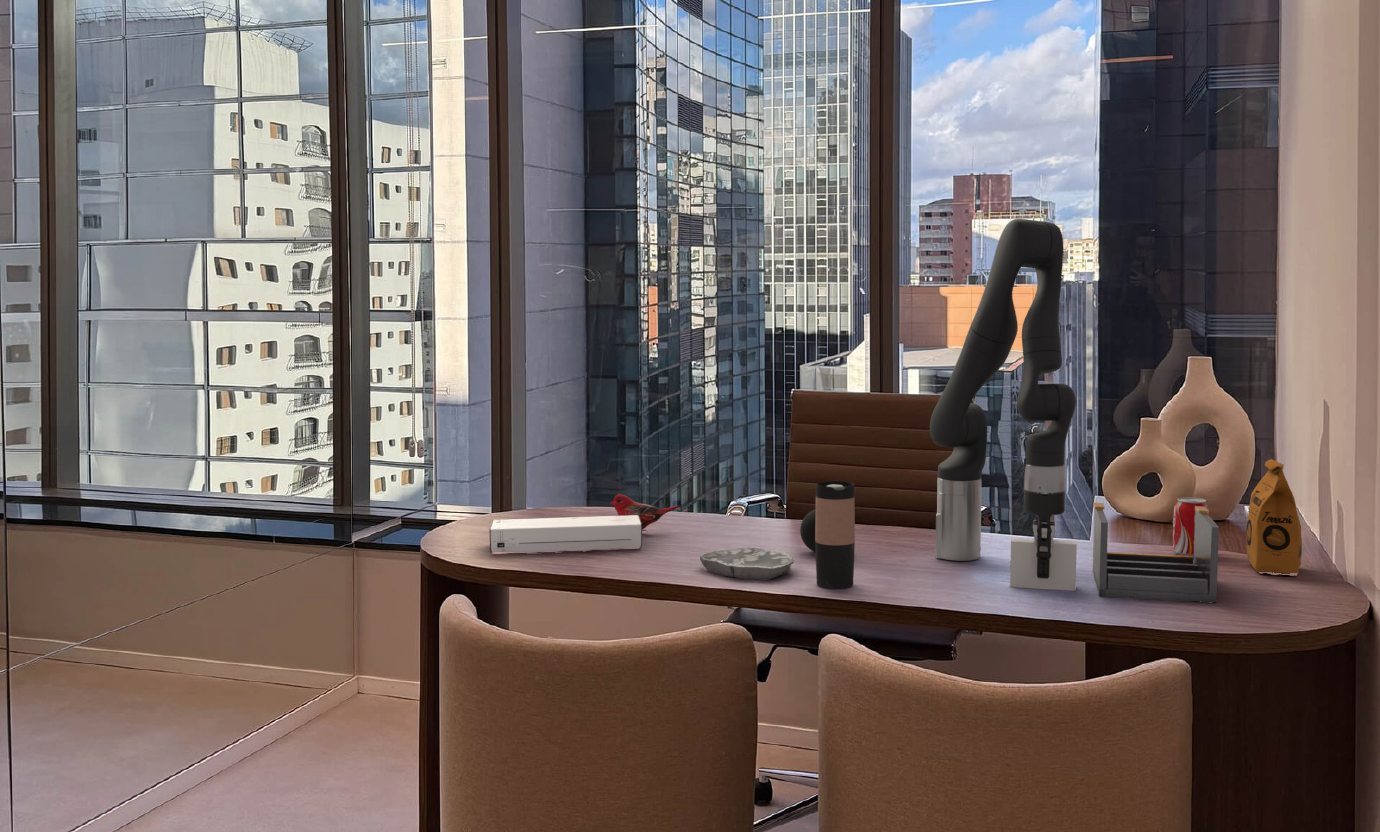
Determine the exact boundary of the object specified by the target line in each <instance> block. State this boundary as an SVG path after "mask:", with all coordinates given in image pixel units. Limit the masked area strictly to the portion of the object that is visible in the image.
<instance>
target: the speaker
mask: <svg viewBox="0 0 1380 832" xmlns="http://www.w3.org/2000/svg"><path fill="white" fill-rule="evenodd" d="M815 522H816V508H815V509H813V510H811V511H809V512H808V513H806V515H805V516H804V517H803V519H802V520H801V523H800V527H799V529H800V531H799V532H800V537H801V538H800V539H801V540H802V542H803V544H804V545H805V546H806V548H808V549H809V550H811V552H815V553H816V547H815V542H816V541H815Z"/></svg>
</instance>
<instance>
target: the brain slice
mask: <svg viewBox="0 0 1380 832" xmlns="http://www.w3.org/2000/svg"><path fill="white" fill-rule="evenodd" d="M699 560H700V562H701V564H702V566H703V567H704V568H706V570H708V572H710V571H711V572H710V573H713V572H715V573H714V574H717V573H718V574H717V575H720V574H721V575H720V576H724V577H730V578H737V579H742V578H753V579H752V580H760V579H762V580H763V579H769V580H773V579H775V578H777V577H780V576H781V575H786V574H787V573H788V572H789V570H790V569H791V565H793V564H794V562H795V560H794V559H793V557H792V555H790V554H789V553H788V552H785V551H782V550H779V549H769V550H766V549H764V548H758V547H747V548H743V547H742V548H733V549H725V550H718V551H711V552H707V553H705V554H703V555H701V556H699Z"/></svg>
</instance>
